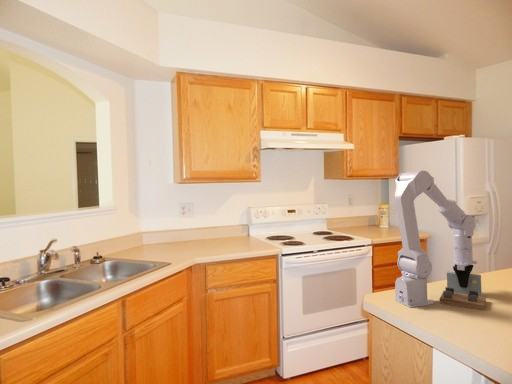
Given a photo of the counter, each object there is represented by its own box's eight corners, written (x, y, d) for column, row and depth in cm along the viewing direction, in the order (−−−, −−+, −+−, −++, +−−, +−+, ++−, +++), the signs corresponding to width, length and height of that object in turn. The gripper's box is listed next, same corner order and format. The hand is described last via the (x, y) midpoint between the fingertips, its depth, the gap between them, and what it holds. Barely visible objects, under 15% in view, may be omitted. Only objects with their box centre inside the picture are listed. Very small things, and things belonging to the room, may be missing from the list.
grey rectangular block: (481, 297, 108) (480, 277, 108) (447, 292, 114) (446, 273, 114) (481, 294, 110) (480, 274, 110) (448, 290, 116) (447, 271, 116)
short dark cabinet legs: (477, 302, 100) (476, 296, 100) (443, 297, 105) (443, 291, 105) (478, 297, 104) (478, 291, 104) (445, 292, 109) (445, 287, 109)
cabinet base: (484, 310, 97) (484, 305, 97) (439, 302, 104) (439, 298, 104) (485, 301, 104) (485, 296, 104) (443, 295, 111) (443, 290, 111)
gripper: (474, 252, 104) (476, 293, 104) (477, 245, 115) (479, 282, 116) (449, 250, 108) (451, 290, 109) (455, 244, 120) (456, 279, 120)
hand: (463, 286), depth 112 cm, fingers closed on grey rectangular block, 2 cm apart
